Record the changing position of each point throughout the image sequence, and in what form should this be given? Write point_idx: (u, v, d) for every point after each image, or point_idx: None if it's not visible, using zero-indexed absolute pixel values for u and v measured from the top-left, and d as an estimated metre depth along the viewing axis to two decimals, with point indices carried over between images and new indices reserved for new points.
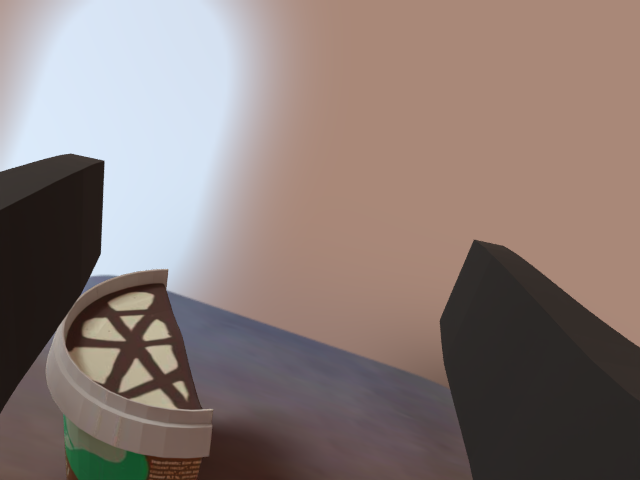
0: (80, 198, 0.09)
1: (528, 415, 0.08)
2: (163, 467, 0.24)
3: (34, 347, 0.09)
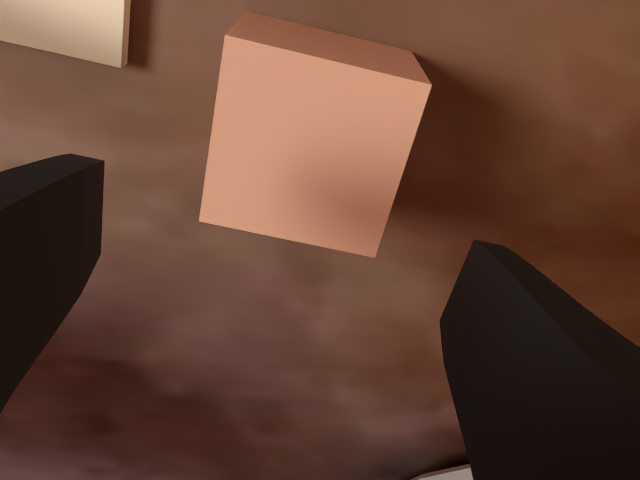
0: (80, 198, 0.09)
1: (528, 415, 0.08)
2: None
3: (34, 347, 0.09)
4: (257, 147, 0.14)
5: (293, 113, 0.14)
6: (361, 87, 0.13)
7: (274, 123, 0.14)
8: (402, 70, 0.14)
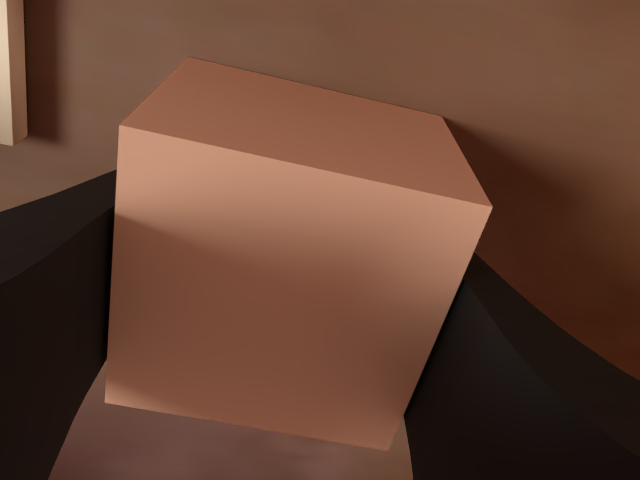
0: None
1: (458, 402, 0.08)
2: None
3: (99, 359, 0.09)
4: (191, 302, 0.08)
5: (250, 251, 0.08)
6: (367, 211, 0.08)
7: (217, 265, 0.08)
8: (437, 172, 0.08)
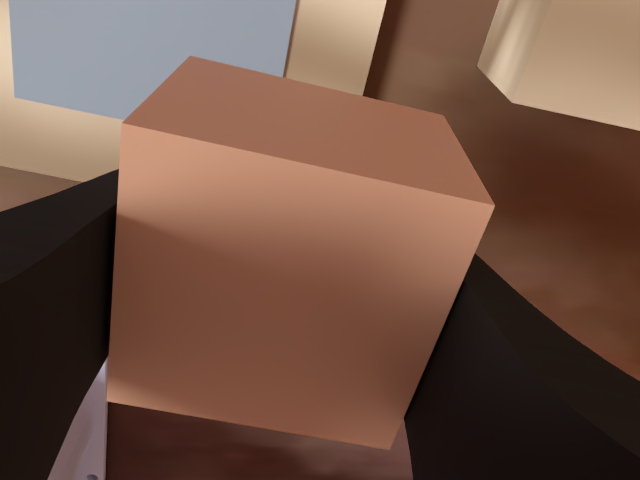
0: None
1: (458, 402, 0.08)
2: None
3: (99, 359, 0.09)
4: (193, 300, 0.08)
5: (252, 249, 0.08)
6: (369, 209, 0.08)
7: (219, 263, 0.08)
8: (439, 171, 0.08)
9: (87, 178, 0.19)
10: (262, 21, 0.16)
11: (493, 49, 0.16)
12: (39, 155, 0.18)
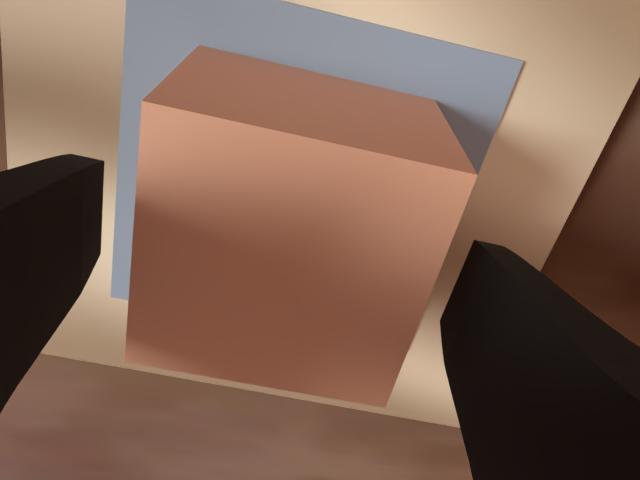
0: (80, 198, 0.09)
1: (528, 415, 0.08)
2: None
3: (34, 347, 0.09)
4: (204, 265, 0.09)
5: (258, 217, 0.09)
6: (365, 179, 0.08)
7: (229, 230, 0.09)
8: (428, 146, 0.09)
9: (186, 374, 0.16)
10: None
11: None
12: None
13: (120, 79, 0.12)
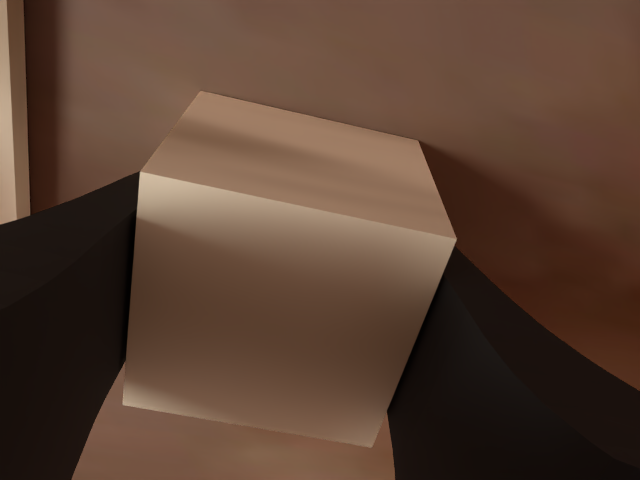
0: None
1: (437, 398, 0.08)
2: None
3: (118, 362, 0.09)
4: None
5: None
6: None
7: None
8: None
9: None
10: None
11: None
12: None
13: None
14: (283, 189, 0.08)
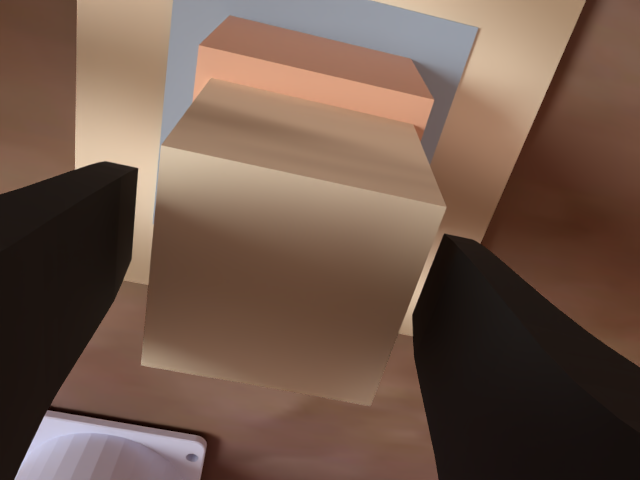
0: (117, 206, 0.09)
1: (487, 408, 0.08)
2: None
3: (73, 354, 0.09)
4: None
5: None
6: (354, 103, 0.12)
7: None
8: (401, 82, 0.13)
9: None
10: None
11: None
12: None
13: (167, 42, 0.15)
14: (289, 162, 0.09)
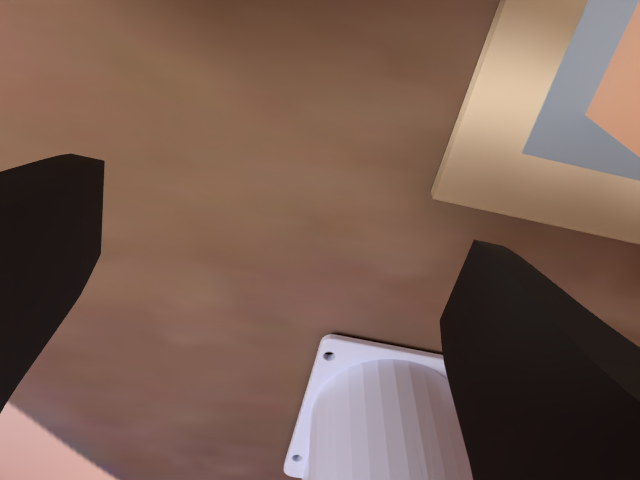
0: (80, 198, 0.09)
1: (528, 415, 0.08)
2: None
3: (34, 347, 0.09)
4: None
5: None
6: None
7: None
8: None
9: (550, 220, 0.22)
10: None
11: None
12: (518, 201, 0.21)
13: None
14: None
